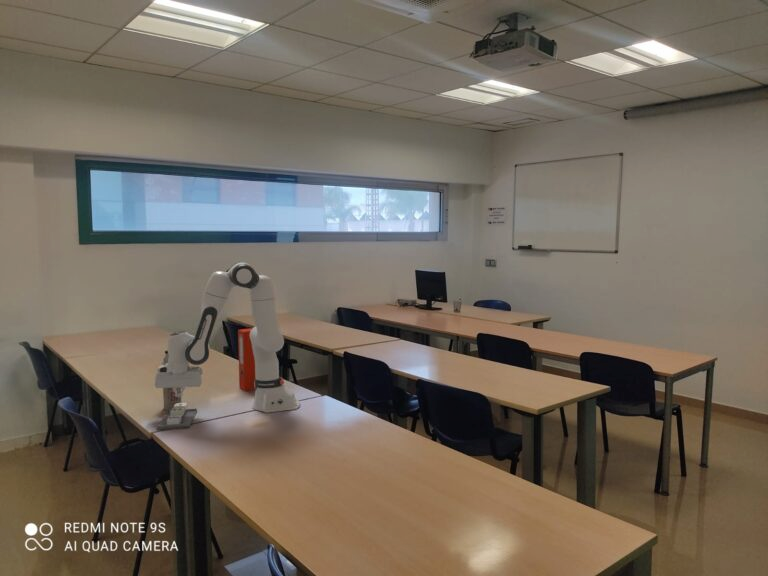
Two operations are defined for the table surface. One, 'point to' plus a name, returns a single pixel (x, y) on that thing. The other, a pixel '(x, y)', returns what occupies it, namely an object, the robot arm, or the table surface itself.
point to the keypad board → (185, 422)
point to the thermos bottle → (169, 391)
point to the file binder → (246, 360)
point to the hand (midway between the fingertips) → (179, 396)
